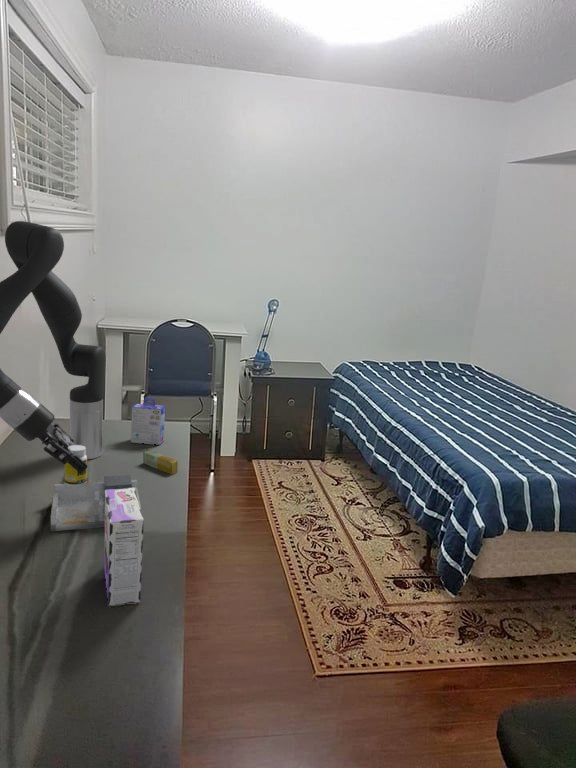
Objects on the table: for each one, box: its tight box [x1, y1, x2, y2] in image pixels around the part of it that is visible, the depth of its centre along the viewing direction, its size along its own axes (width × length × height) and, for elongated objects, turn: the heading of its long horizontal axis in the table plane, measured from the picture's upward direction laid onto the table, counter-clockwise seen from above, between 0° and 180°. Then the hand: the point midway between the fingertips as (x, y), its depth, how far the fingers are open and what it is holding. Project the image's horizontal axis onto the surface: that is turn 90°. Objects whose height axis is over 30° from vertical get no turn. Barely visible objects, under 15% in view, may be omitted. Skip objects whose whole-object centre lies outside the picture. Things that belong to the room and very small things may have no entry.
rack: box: [50, 474, 142, 532], centre depth 127 cm, size 14×19×8 cm
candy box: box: [103, 487, 145, 607], centre depth 100 cm, size 14×6×16 cm, turn 21°
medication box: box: [142, 449, 179, 475], centre depth 158 cm, size 12×3×4 cm, turn 56°
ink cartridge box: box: [130, 397, 166, 446], centre depth 178 cm, size 10×6×14 cm, turn 89°
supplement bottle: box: [63, 445, 88, 487], centre depth 122 cm, size 5×5×8 cm
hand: (84, 465), depth 123 cm, fingers closed on supplement bottle, 4 cm apart
